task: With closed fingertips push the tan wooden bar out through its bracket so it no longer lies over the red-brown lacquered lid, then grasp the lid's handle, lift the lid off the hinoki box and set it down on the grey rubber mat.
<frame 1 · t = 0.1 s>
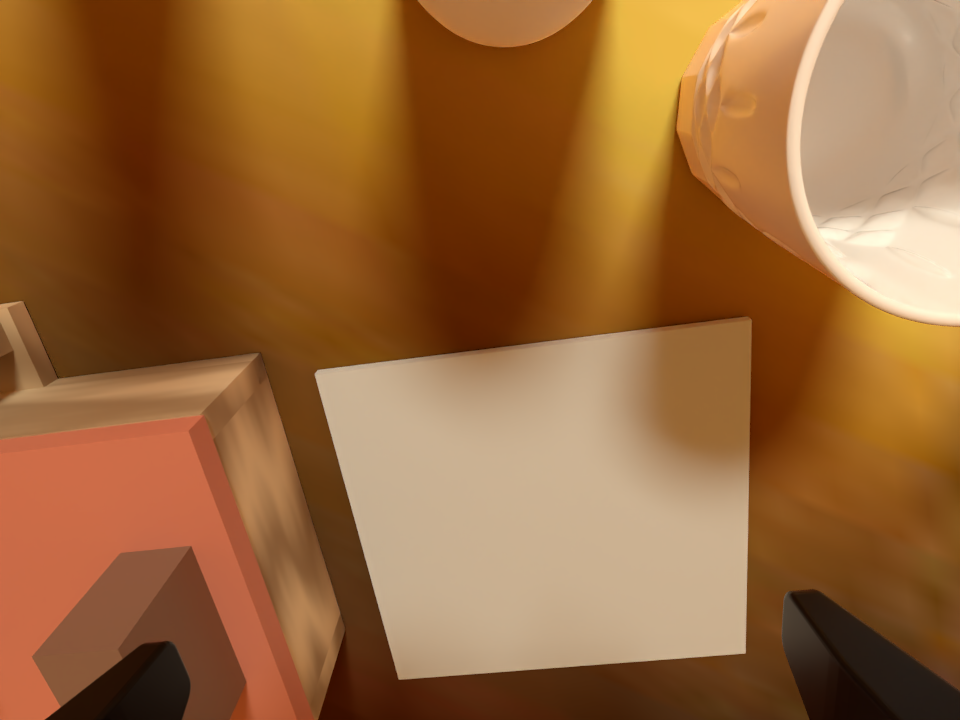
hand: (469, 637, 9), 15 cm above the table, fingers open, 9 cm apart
lid: (81, 609, 22), point 5 cm above the table, touching toolbox
mat: (548, 520, 26), on the table
toolbox: (151, 521, 27), on the table
white cup: (780, 102, 20), on the table
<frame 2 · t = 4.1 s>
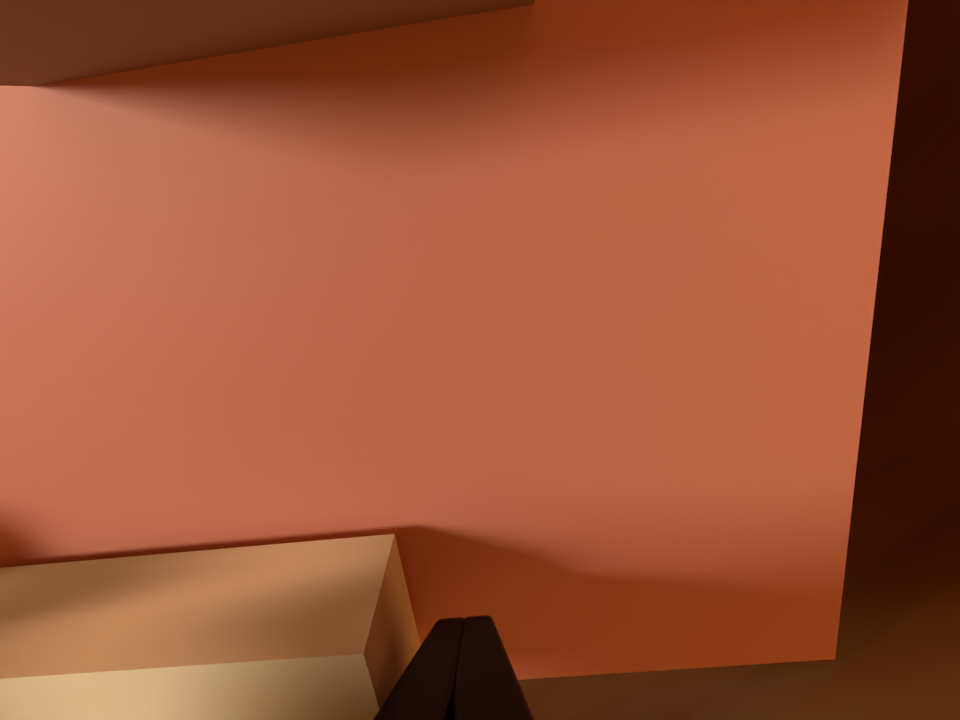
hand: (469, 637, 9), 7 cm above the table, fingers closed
lid: (355, 295, 9), point 5 cm above the table, touching toolbox
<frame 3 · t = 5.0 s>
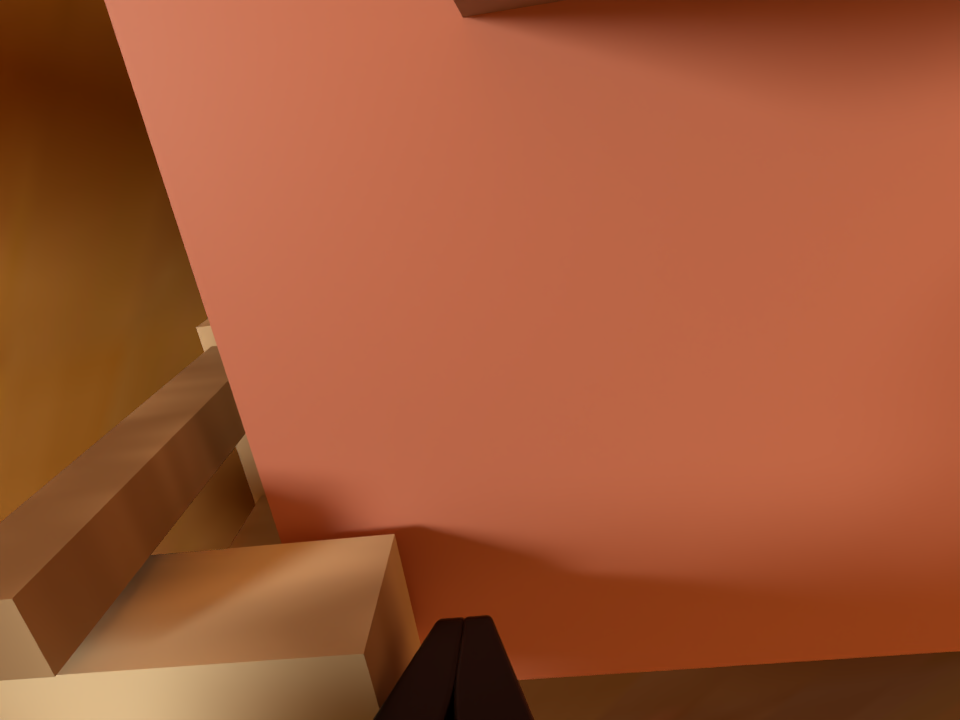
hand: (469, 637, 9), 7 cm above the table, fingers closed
lid: (709, 251, 9), point 5 cm above the table, touching toolbox
toolbox: (637, 205, 13), on the table
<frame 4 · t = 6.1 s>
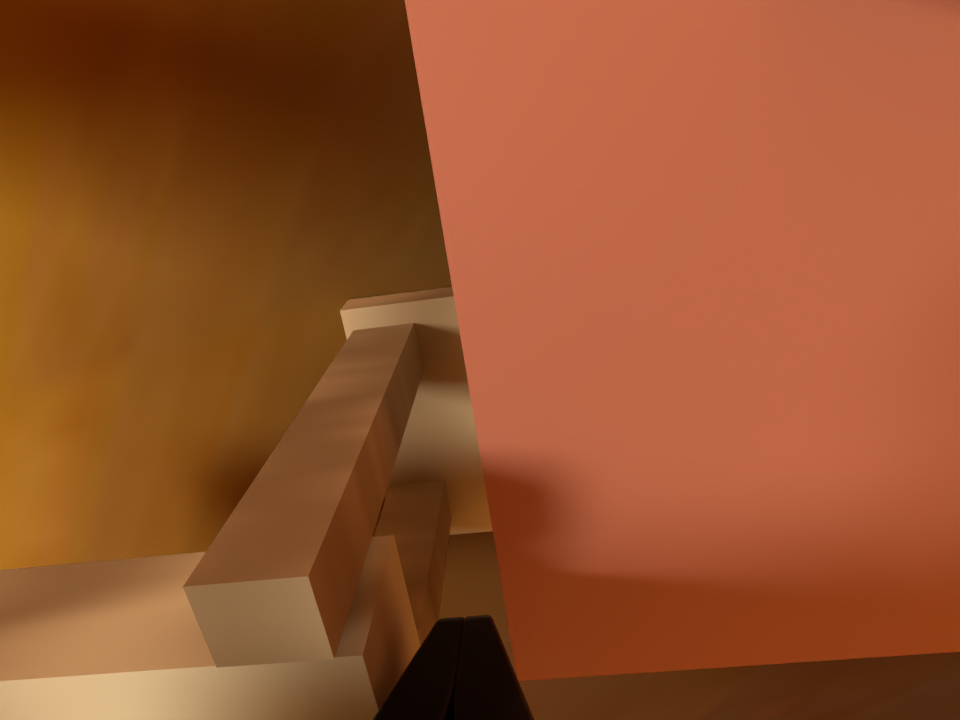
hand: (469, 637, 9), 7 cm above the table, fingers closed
toolbox: (799, 183, 13), on the table
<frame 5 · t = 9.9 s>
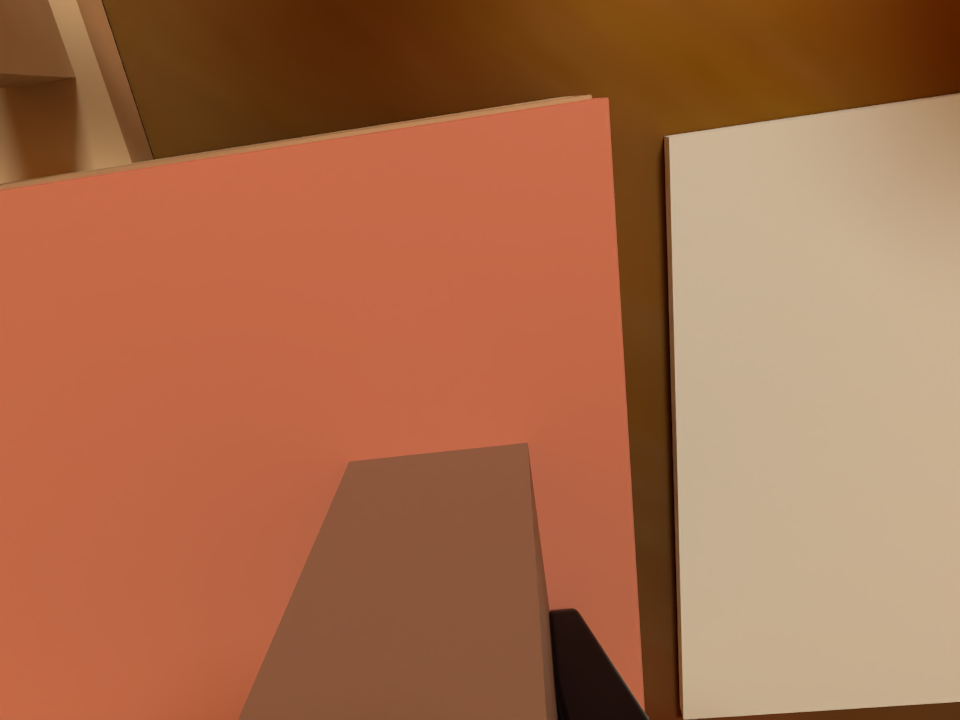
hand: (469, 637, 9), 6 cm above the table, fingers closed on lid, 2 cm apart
lid: (215, 598, 11), point 5 cm above the table, touching gripper, toolbox
toolbox: (300, 446, 15), on the table
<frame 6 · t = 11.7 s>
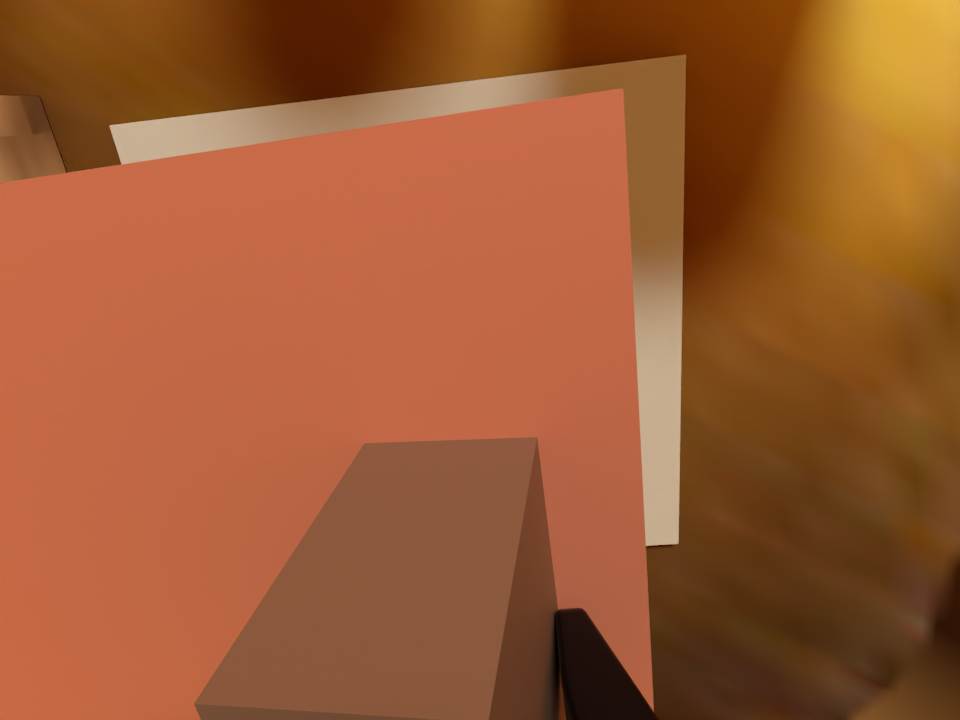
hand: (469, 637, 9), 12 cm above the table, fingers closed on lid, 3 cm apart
lid: (248, 562, 11), point 10 cm above the table, tilted 8°, touching gripper
mat: (430, 355, 20), on the table
when the fingers open (3 cm above the table, at t = 13.7 s): lid stays where it is, resting on mat.
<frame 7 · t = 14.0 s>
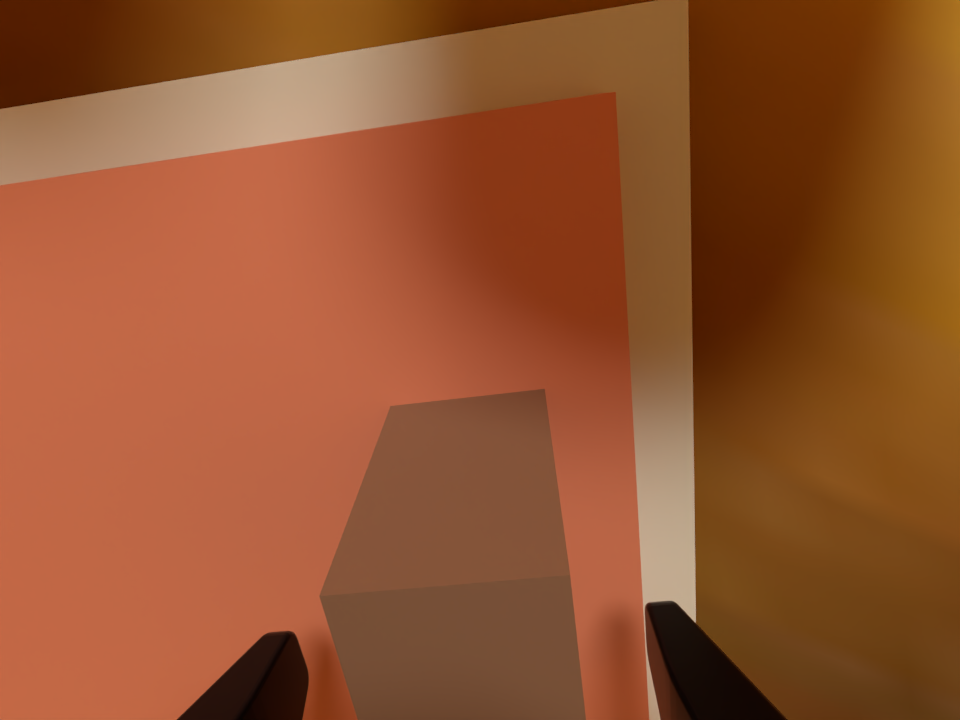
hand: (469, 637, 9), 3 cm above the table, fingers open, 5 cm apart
lid: (263, 538, 12), resting on mat
mat: (279, 523, 12), on the table
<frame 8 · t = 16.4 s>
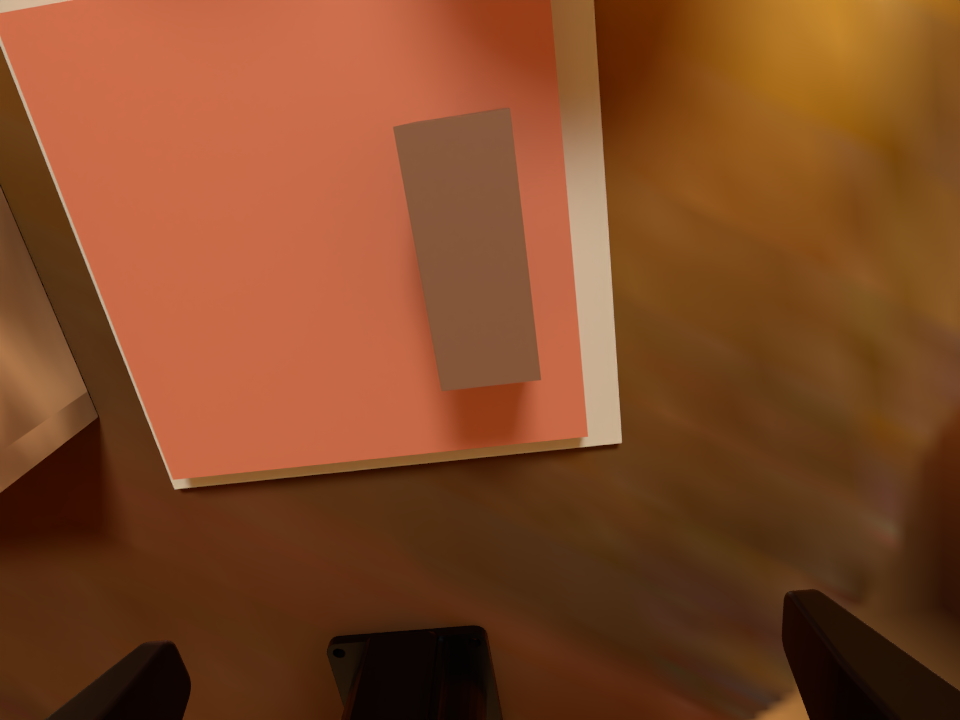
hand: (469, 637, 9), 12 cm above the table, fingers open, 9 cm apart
lid: (333, 242, 19), resting on mat
mat: (341, 238, 19), on the table
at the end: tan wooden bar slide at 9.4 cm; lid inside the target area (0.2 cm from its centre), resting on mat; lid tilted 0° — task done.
